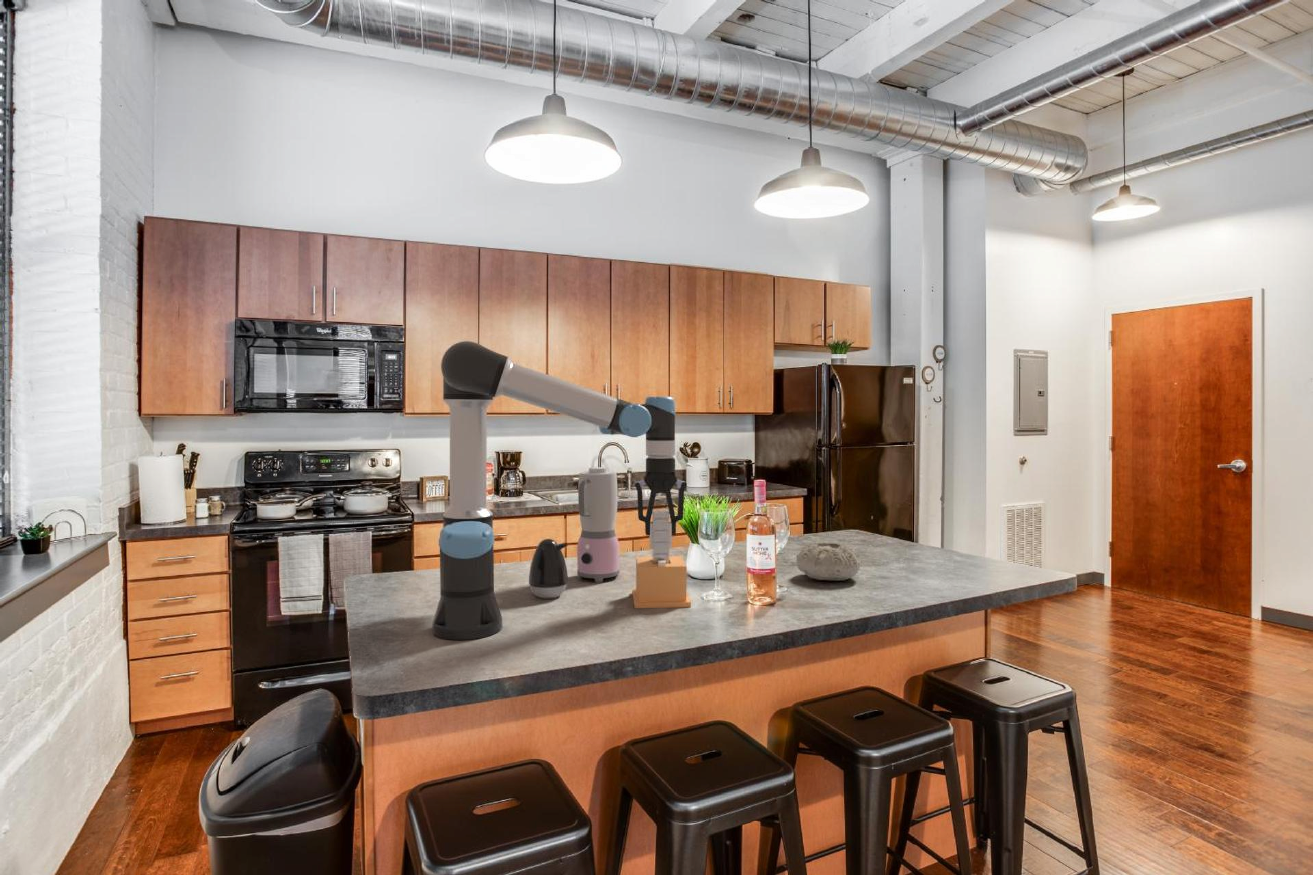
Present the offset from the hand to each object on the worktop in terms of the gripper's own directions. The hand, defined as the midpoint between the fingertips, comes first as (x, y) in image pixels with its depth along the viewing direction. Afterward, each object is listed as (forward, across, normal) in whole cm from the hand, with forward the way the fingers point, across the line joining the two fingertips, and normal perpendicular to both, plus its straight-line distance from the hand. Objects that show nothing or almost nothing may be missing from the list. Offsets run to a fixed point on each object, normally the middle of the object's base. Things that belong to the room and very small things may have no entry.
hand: (660, 547), depth 185 cm
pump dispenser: (+14, +29, -6) cm, 33 cm away
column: (+12, 0, 0) cm, 12 cm away
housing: (+14, 0, 0) cm, 14 cm away
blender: (+14, +17, -24) cm, 33 cm away
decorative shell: (+14, -50, -19) cm, 55 cm away
